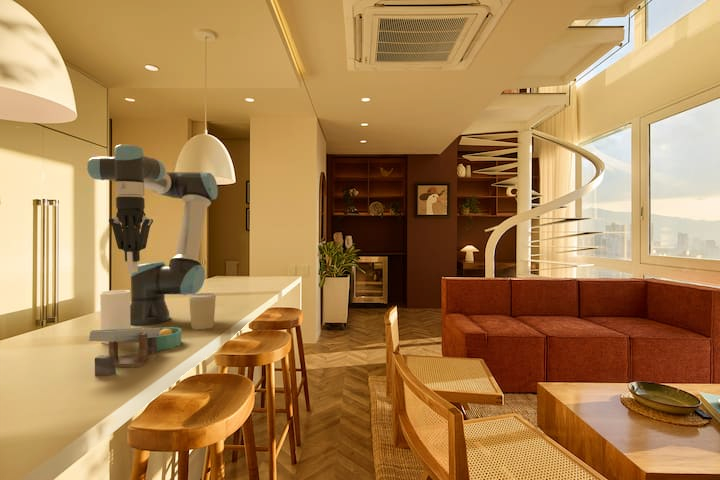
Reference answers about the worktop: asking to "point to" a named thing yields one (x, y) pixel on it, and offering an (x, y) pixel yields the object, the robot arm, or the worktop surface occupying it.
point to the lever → (122, 334)
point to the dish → (168, 339)
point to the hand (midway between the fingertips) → (132, 272)
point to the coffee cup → (202, 310)
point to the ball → (165, 332)
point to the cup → (115, 310)
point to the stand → (125, 356)
